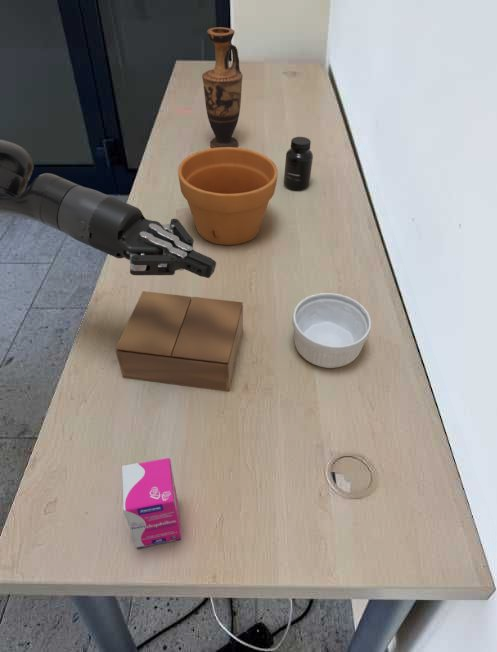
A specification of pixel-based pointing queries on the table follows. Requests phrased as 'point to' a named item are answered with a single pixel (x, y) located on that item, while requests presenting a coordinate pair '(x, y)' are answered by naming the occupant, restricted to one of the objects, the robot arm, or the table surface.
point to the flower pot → (227, 192)
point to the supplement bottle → (298, 164)
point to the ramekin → (330, 329)
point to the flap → (154, 324)
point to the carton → (194, 349)
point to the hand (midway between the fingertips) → (212, 270)
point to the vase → (223, 89)
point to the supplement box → (151, 502)
